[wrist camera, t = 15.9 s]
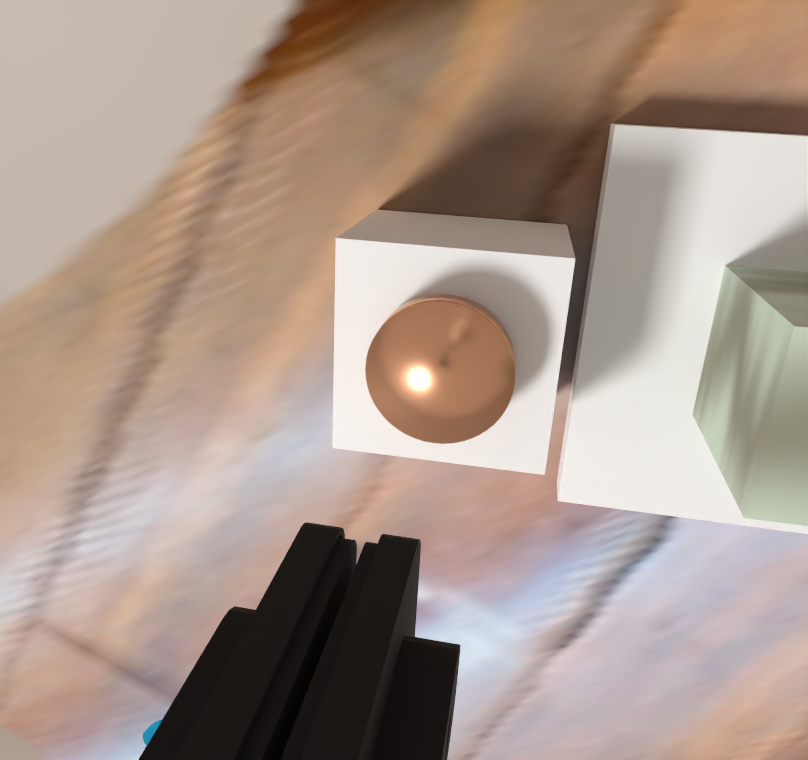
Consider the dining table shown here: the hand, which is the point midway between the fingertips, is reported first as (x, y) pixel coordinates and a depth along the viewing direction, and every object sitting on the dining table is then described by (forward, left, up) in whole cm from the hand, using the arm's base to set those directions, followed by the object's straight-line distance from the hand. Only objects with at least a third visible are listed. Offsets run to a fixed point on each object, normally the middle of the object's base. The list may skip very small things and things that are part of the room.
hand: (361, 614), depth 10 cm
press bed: (+1, +7, -19) cm, 20 cm away
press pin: (+1, 0, -17) cm, 17 cm away
